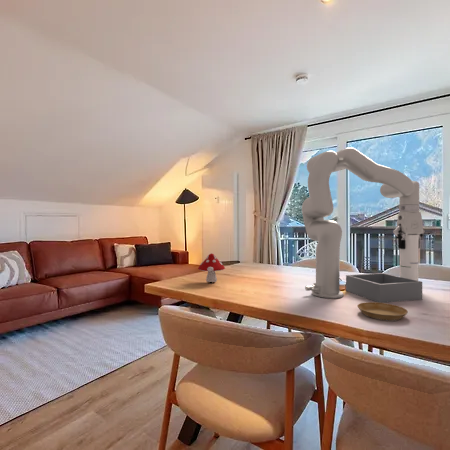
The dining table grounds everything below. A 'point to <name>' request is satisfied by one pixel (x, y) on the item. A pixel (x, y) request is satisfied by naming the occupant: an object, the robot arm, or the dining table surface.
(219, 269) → the decorative mushroom
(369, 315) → the plant saucer
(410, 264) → the cylindrical container
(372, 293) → the walled bin
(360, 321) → the dining table surface
